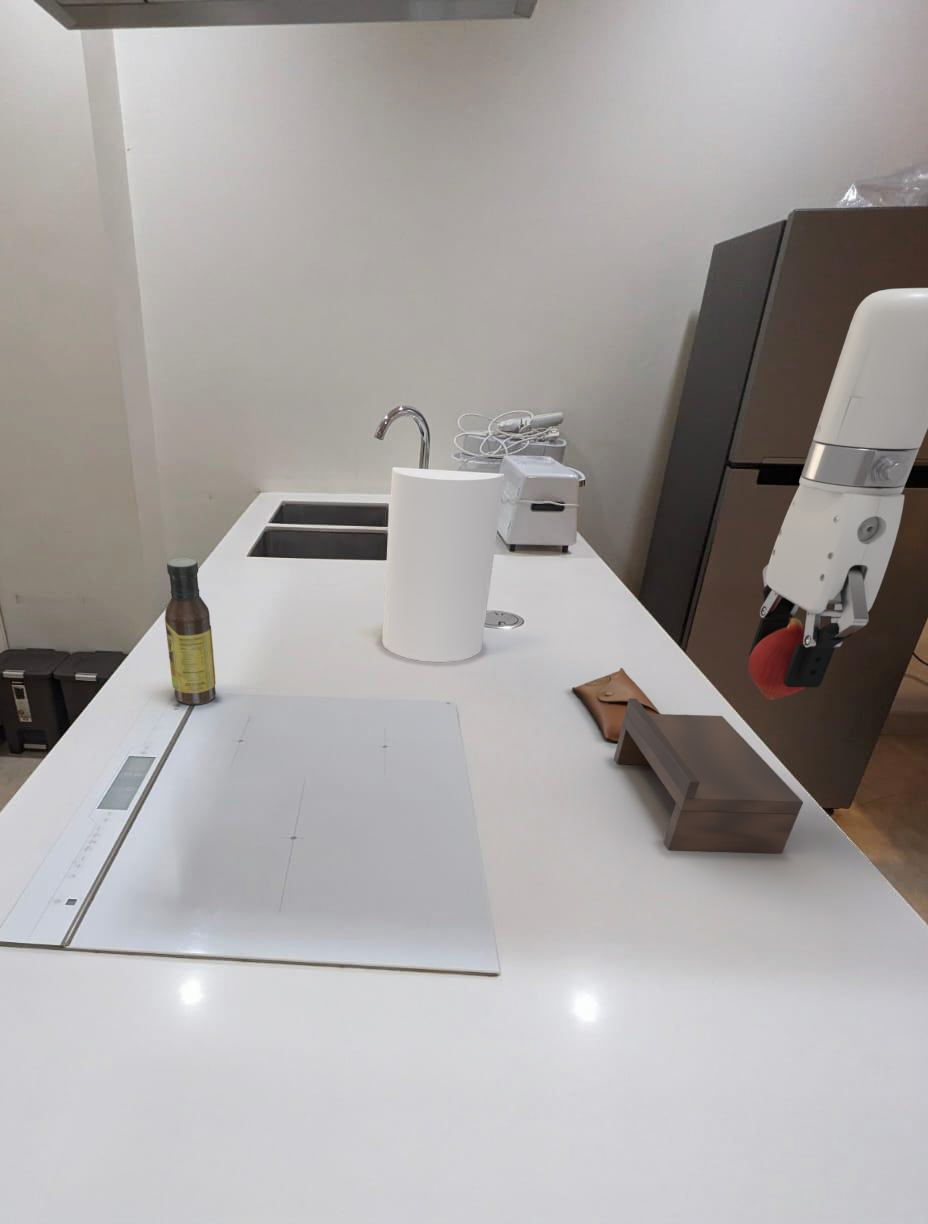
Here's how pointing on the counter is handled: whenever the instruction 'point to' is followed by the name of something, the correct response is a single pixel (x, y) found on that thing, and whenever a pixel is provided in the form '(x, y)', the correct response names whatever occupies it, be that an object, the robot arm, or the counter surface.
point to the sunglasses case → (612, 701)
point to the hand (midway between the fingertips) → (782, 670)
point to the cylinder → (439, 562)
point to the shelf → (710, 782)
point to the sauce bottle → (189, 635)
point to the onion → (775, 660)
